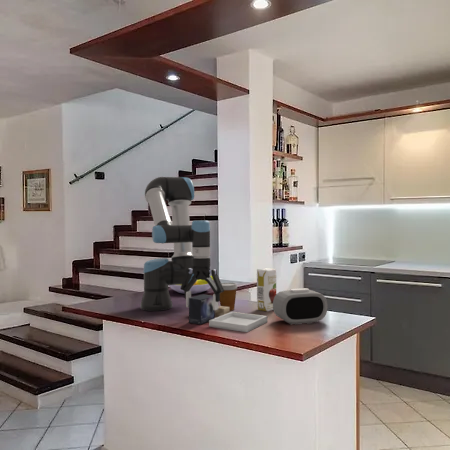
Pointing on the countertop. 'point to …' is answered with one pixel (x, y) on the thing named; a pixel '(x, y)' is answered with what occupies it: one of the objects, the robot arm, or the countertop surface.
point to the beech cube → (221, 311)
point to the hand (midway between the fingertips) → (202, 308)
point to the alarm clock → (300, 306)
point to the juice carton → (266, 288)
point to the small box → (201, 309)
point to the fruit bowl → (193, 287)
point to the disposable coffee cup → (228, 295)
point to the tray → (238, 321)
